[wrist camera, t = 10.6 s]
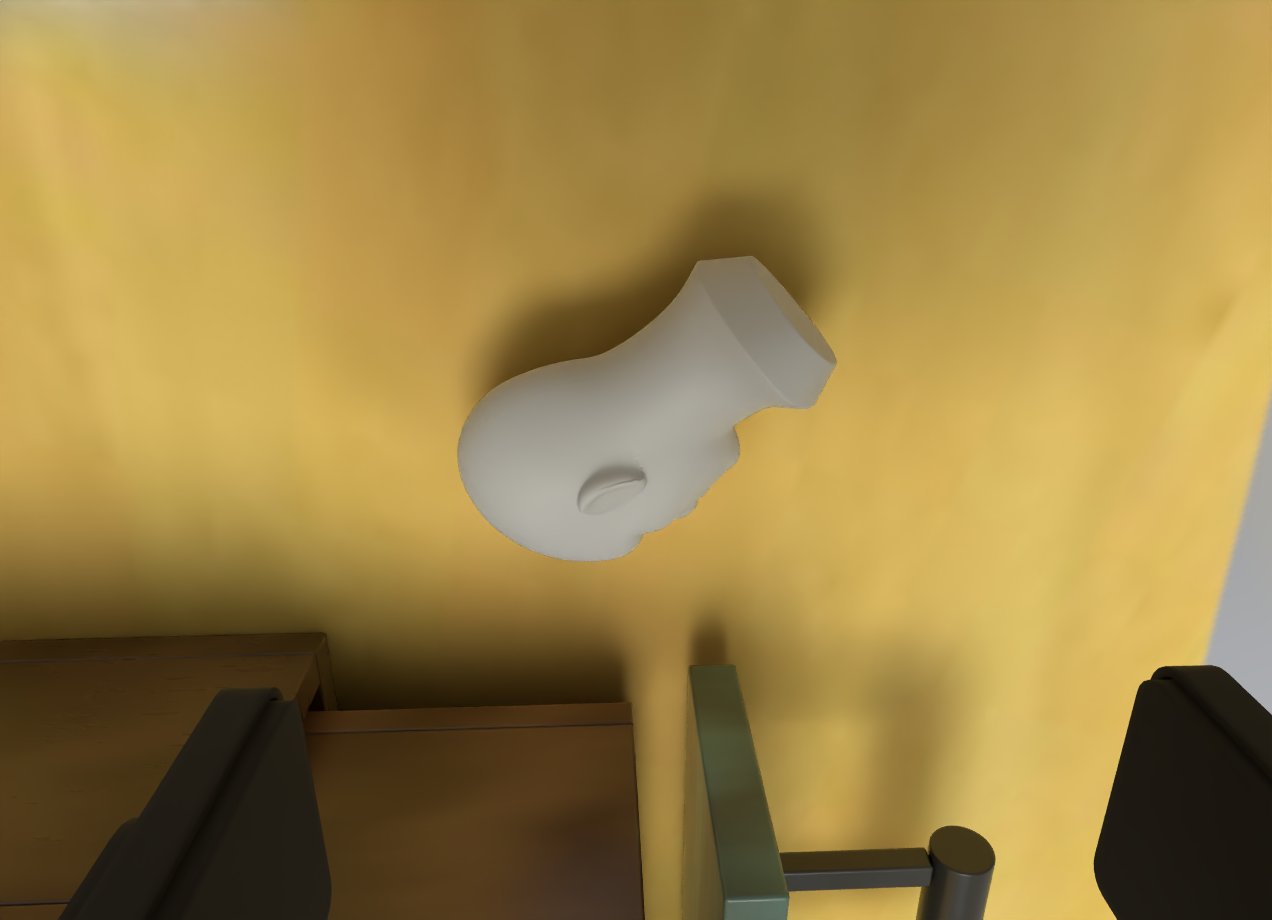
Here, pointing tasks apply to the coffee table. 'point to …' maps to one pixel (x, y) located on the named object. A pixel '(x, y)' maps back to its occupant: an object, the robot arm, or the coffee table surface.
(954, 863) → the drawer
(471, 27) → the coffee table surface
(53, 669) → the cabinet
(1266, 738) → the robot arm
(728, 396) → the pale two-lobed sculpture
